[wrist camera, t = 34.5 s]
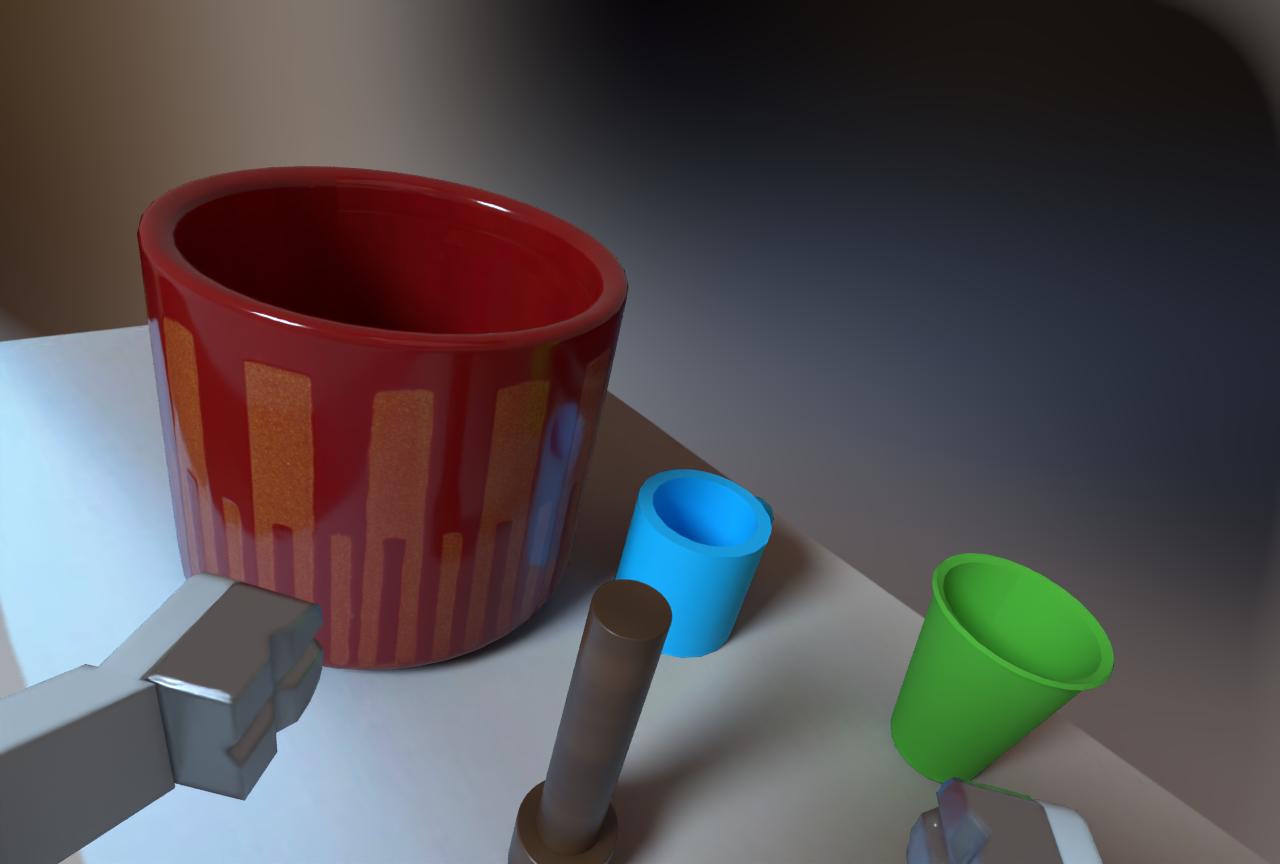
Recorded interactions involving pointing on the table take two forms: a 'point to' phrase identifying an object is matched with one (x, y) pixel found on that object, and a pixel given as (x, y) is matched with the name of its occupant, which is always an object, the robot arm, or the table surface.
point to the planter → (378, 397)
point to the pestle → (595, 730)
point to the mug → (696, 553)
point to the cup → (992, 665)
